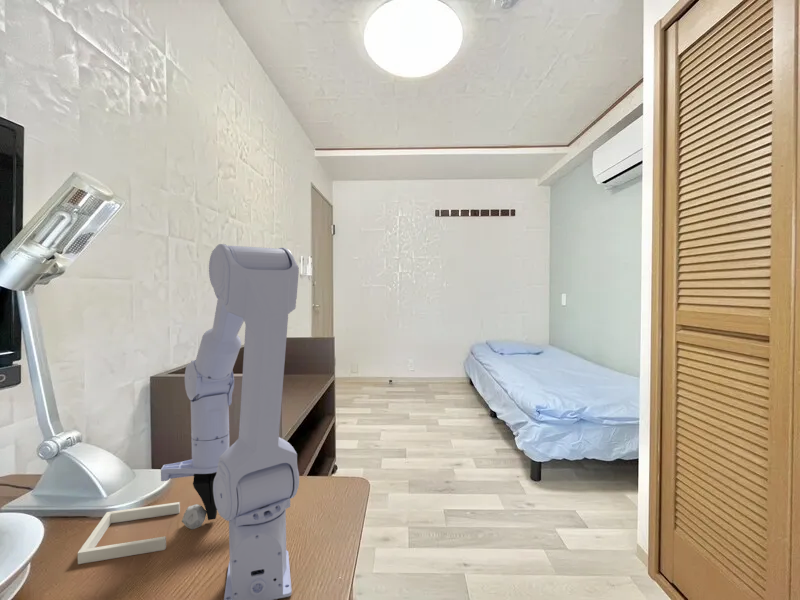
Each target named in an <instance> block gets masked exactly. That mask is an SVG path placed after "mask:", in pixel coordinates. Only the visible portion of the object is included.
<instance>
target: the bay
mask: <svg viewBox="0 0 800 600" xmlns="http://www.w3.org/2000/svg"><path fill="white" fill-rule="evenodd" d="M180 512H181V501H178V502H170V503H163V504H154V505H150V506H149V505H148V506H140V507H134V508H128V509H118V510H113V511H106V513H105V514H104V516H103V517H102V518H101V520H100V521H99V522H98V524H97V525H96V527H95V528H94V529H93V531H92V532H91V534H90V535H89V536H88V537H87V539H86V541H85V542H84V543H83V544H82V546H81V547H80V549H79V550H78V552H77V565H81V564H82V565H83V564H88V563H93V562H99V561H104V560H105V561H106V560H111V559H118V558H123V557H124V558H125V557H130V556H134V555H141V554H147V553H148V554H149V553H153V552H160V551H165V550H166V548H167V536H166V535H164V536H160V537H154V538H153V537H152V538H147V539H141V540H133V541H129V542H128V541H127V542H126V541H125V542H122V543H115V544H109V545H103V546H102V545H101V546H98V543H99V542H100V540H101V539H102V537H103V536H104V535H105V533H106V531H108V528H109V527H110V525H111V524H114V523H122V522H128V521H134V520H142V519H149V518H155V517H156V518H157V517H163V516H169V515H175V514H176V515H177V514H180Z"/></svg>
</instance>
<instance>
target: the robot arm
mask: <svg viewBox="0 0 800 600" xmlns="http://www.w3.org/2000/svg"><path fill="white" fill-rule="evenodd" d="M208 262H209V264H208V274H209V275H208V276H209V281H210V282H209V283H210V285H211V287H212V288H213V292H214V295H215V297H216V299H217V301H216V307H215V312H214V319H213V325H212V328H210V329H208V330H206V331H205V332H203V335H202V337H201V341H200V342H199V348H198V351H197V354H196V358H195V359H194V360H191V361H190V363H188V364H187V365H186V366H185V371H184V389H185V393H186V396H187V398H188V399H189V401H190V429H191V430H190V432H191V433H190V436H191V440H190V441H191V459H188V460H184V461H178V462H174V463H167V464H163V465H162V467H161V468H160V481H161V482H167V481H169V480H170V479H177V478H178V479H179V478H187V477H193V481H192V486H193V489H195V491H196V492H197V495H198V496H199V497H200V499H201V501H202V503H203V504H202V505H203V506H204V509H205V510H206V512H207V513H206V517H207V520H208V521H211V520H216V518H217V515H219V516H220V517H221V518H222V519H223V520H225V521H226V522H228V537H229V538H228V540H229V541H228V542H229V546H228V547H229V561H228V566H227V574H226V581H225V587H224V588H225V589H224V590H225V591H224V596H223V597H224V598H223V600H278V599H284V598H288V597H291V595H292V593H293V592H292V591H293V589H292V581H291V570H290V569H291V568H290V557H289V555H290V553H289V551H288V550H287V529H286V528H287V521H286V518H287V516H286V515H287V514H286V513H287V512H286V510H287V509H289V508H290V507H291V499H294V498H295V497H296V495H297V493H298V489H299V487H300V472H299V467H298V453H297V451H296V450H295V448H294V446H292V444H291V443H290V442H288V441H287V440H286V439H284V438H282V437H280V426H281V415H282V414H281V413H282V401H283V390H284V389H283V388H284V375H285V361H286V348H287V336H288V335H287V334H288V323H289V314H291V313H292V312H293V311H294V310H295V309H296V308H297V305H296V304H297V298H298V286H299V273H300V271H299V270H300V269H299V268H300V267H299V265H298V263H297V262H296V259H295V256H294V255H293V253H292V252H291V251H290V249H289V248H287V247H278V248H276V247H275V248H274V247H262V246H261V247H260V246H259V247H258V246H243V245H227V244H225V243H219V244H217V245H216V246H215V247H214V249H212V251H211V254H210V256H209V261H208ZM244 323H245V325H244V326H245V328H244V346H243V361H242V379H241V391H240V392H241V393H240V395H241V396H240V410H239V411H240V413H239V424H238V425H239V428H238V438H237V439H236V440H235V441H234V443H232V444H231V445H230V411H229V410H230V408H229V407H230V406H232V403H233V393H234V389H235V375H234V371H233V369H234V366H235V364H236V362H237V359H238V355H239V353H240V350H241V347H242V340H241V338H240V336H239V335H238V334H239V332H240V330H241V328H242V326H243V324H244Z"/></svg>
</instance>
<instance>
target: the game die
mask: <svg viewBox="0 0 800 600" xmlns="http://www.w3.org/2000/svg"><path fill="white" fill-rule="evenodd" d="M206 517H207V512H206V509H205V507H203V505H201V504H197V503H196V504H193V505H189V506H187V507H186V510H185V512H184V513H183V516H182V520H181V522H182V523H183V524H184V526H185V527H186V528H188V529H190V530H195V529H198V528H199V527H202V526H203V523H204V522H205V519H206Z"/></svg>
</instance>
